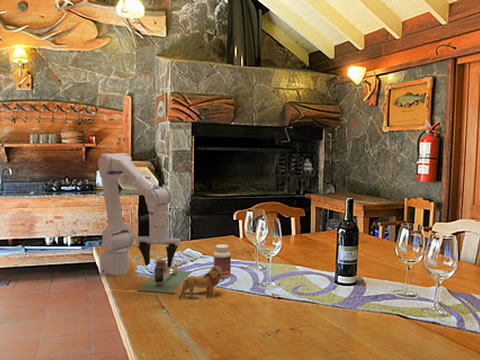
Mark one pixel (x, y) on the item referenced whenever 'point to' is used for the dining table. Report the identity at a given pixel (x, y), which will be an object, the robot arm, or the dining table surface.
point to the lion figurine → (202, 282)
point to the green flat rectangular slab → (168, 286)
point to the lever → (163, 278)
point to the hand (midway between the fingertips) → (158, 265)
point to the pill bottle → (223, 259)
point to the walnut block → (161, 264)
